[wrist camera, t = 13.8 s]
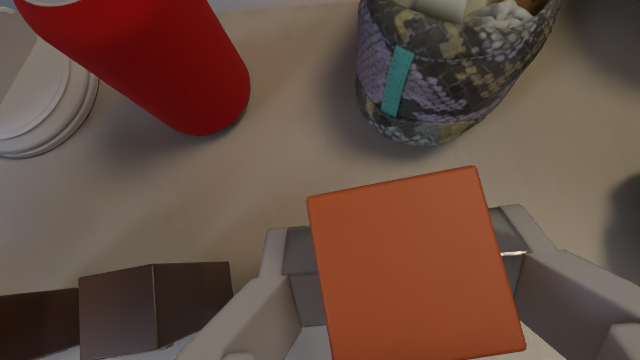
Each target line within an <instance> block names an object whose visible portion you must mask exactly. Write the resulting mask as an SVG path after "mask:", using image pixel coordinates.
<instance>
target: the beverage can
mask: <svg viewBox="0 0 640 360" xmlns="http://www.w3.org/2000/svg"><path fill="white" fill-rule="evenodd" d="M13 1H14V3H15V5H16V7H17V9H18V11H19V13H20V14H21V16H22V17H23V19H24V20H25V22H26V23H27V24H28V25H29V26H30V27H31V29H32V30H33V31H34V32H35V33H36V34H37V35H38V36H39V37H41V38H42V39H43V40H44V41H46V42H47V43H48V44H50V45H51V46H53V47H54V48H56V49H57V50H59V51H60V52H62V53H63V54H64V55H66V56H67V57H69V58H70V59H72V60H73V61H75V62H76V63H78V64H79V65H80V66H82V67H83V68H85V69H86V70H88V71H89V72H91V73H92V74H94V75H95V76H97V77H98V78H99V79H101V80H102V81H104V82H105V83H107V84H108V85H110V86H111V87H113V88H114V89H116V90H117V91H118V92H120V93H121V94H123V95H124V96H126V97H127V98H129V99H130V100H132V101H133V102H134V103H136V104H137V105H139V106H140V107H142V108H143V109H145V110H146V111H148V112H149V113H151V114H152V115H153V116H155V117H156V118H158V119H159V120H161V121H162V122H164V123H165V124H167V125H168V126H170V127H171V128H173V129H174V130H176V131H178V132H181V133H184V134H188V135H196V136H206V135H212V134H216V133H219V132H221V131H223V130H225V129H227V128H228V127H230V126H231V125H232V124H234V123H235V122H236V121H237V120H238V119H239V118H240V116H241V115H242V114H243V112H244V110H245V109H246V106H247V104H248V101H249V97H250V78H249V73H248V70H247V68H246V66H245V64H244V62H243V60H242V59H241V57H240V55H239V54H238V52H237V50H236V49H235V47H234V45H233V44H232V42H231V40H230V39H229V37H228V35H227V34H226V32H225V30H224V29H223V27H222V25H221V24H220V22H219V20H218V19H217V17H216V15H215V14H214V12H213V10H212V9H211V7H210V5H209V4H208V2H207V0H13Z"/></svg>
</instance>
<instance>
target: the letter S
mask: <svg viewBox="0 0 640 360" xmlns="http://www.w3.org/2000/svg"><path fill="white" fill-rule="evenodd" d="M306 203H307V209H308V215H309V221H310V227H311V233H312V240H313V246H314V252H315V258H316V264H317V270H318V276H319V282H320V288H321V294H322V300H323V306H324V312H325V318H326V324H327V330H328V336H329V342H330V348H331V354H332V360H468V359H475V358H481V357H488V356H494V355H501V354H508V353H514V352H521V351H524V350H526V342H525V338H524V335H523V331H522V328H521V324H520V321H519V317H518V313H517V310H516V306H515V303H514V299H513V296H512V292H511V288H510V285H509V281H508V278H507V274H506V271H505V267H504V263H503V260H502V256H501V253H500V249H499V246H498V242H497V238H496V235H495V231H494V228H493V224H492V221H491V217H490V213H489V210H488V206H487V203H486V199H485V196H484V192H483V189H482V185H481V181H480V178H479V174H478V171H477V168H476V167H475V166H465V167H460V168H455V169H450V170H444V171H439V172H434V173H429V174H424V175H418V176H413V177H408V178H403V179H397V180H392V181H387V182H382V183H377V184H371V185H366V186H361V187H356V188H350V189H345V190H340V191H335V192H329V193H324V194H319V195H314V196H310V197H308V198H307V200H306Z"/></svg>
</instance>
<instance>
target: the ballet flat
mask: <svg viewBox="0 0 640 360" xmlns="http://www.w3.org/2000/svg"><path fill="white" fill-rule="evenodd" d="M562 1H563V0H360V4H359V11H358V48H357V63H356V65H355V76H356V81H355V83H356V96H357V101H358V102H357V103H358V106H359V108H360V111H361V113H362V115H363V116H364V118H365V119H366V120H367V122H368V123H369V124H370V125H371V126H373V127H374V128H375V129H376V130H377V131H378V132H379V133H381V134H382V135H384V136H385V137H387V138H389V139H391V140H394V141H397V142H400V143H404V144H408V145H415V146H431V145H438V144H442V143H445V142H447V141H450V140H452V139H454V138H456V137H457V136H459V135H461V134H462V133H464V132H465V131H467V130H468V129H470V128H471V127H473V126H475V125H476V124H478V123H479V122H481V121H482V120H484V119H485V117H486V116H487V115H488V114H489V113H490V112H491V111H492V110H493V109H495V108H496V107H497V106H498V105H499V103H500V102H501V101H502V100H503V98H504V97H505V96H506V95H507V93H508V92H509V90H510V89H511V87H512V86H513V85H514V83H515V82H516V80H517V79H518V77H519V76H520V75H521V74H522V73H523V71H524V70H525V69H526V68H527V66H528V65H529V64H530V63H531V62H532V61H533V60H534V58H535V57H536V55H537V54H538V53H539V51H540V50H541V49H542V47H543V45H544V43H545V42H546V39H547V37H548V35H549V34H550V33H551V30H552V25H553V24H554V21H555V18H556V15H557V13H558V11H559V8H560V5H561V3H562Z"/></svg>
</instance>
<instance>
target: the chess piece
mask: <svg viewBox="0 0 640 360" xmlns="http://www.w3.org/2000/svg"><path fill="white" fill-rule="evenodd" d="M97 89H98V77H97V76H95V75H94V74H92V73H91V72H89V71H88V70H86V69H85V68H83V67H82V66H80V65H79V64H78V63H76V62H75V61H73V60H72V59H70V58H69V57H67V56H66V55H64V54H63V53H62V52H60V51H59V50H57V49H56V48H54V47H53V46H51V45H50V44H48V43H47V42H46V41H44V40H43V39H42V38H41V37H39V36H38V35H37V34H36V33H35V32H34V31H33V30H32V29H31V27H30V26H29V25H28V24H27V23H26V22H25V20H24V19H23V17H22V16H21V14H20V13H19V11H16V10H13V9H9V8H7V7H3V6H2V7H0V155H1V156H4V157H10V158H25V157H31V156H35V155H39V154H42V153H45V152H47V151H49V150H51V149H53V148H55V147H57V146H58V145H60V144H61V143H63V142H64V141H65V140H66V139H68V138H69V137H70V136H71V135H72V134H73V133H74V132H75V131H76V130H77V129H78V128H79V127H80V125H81V124H82V123H83V121H84V120H85V118H86V117H87V115H88V113H89V112H90V110H91V108H92V105H93V103H94V100H95V97H96V93H97Z"/></svg>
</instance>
